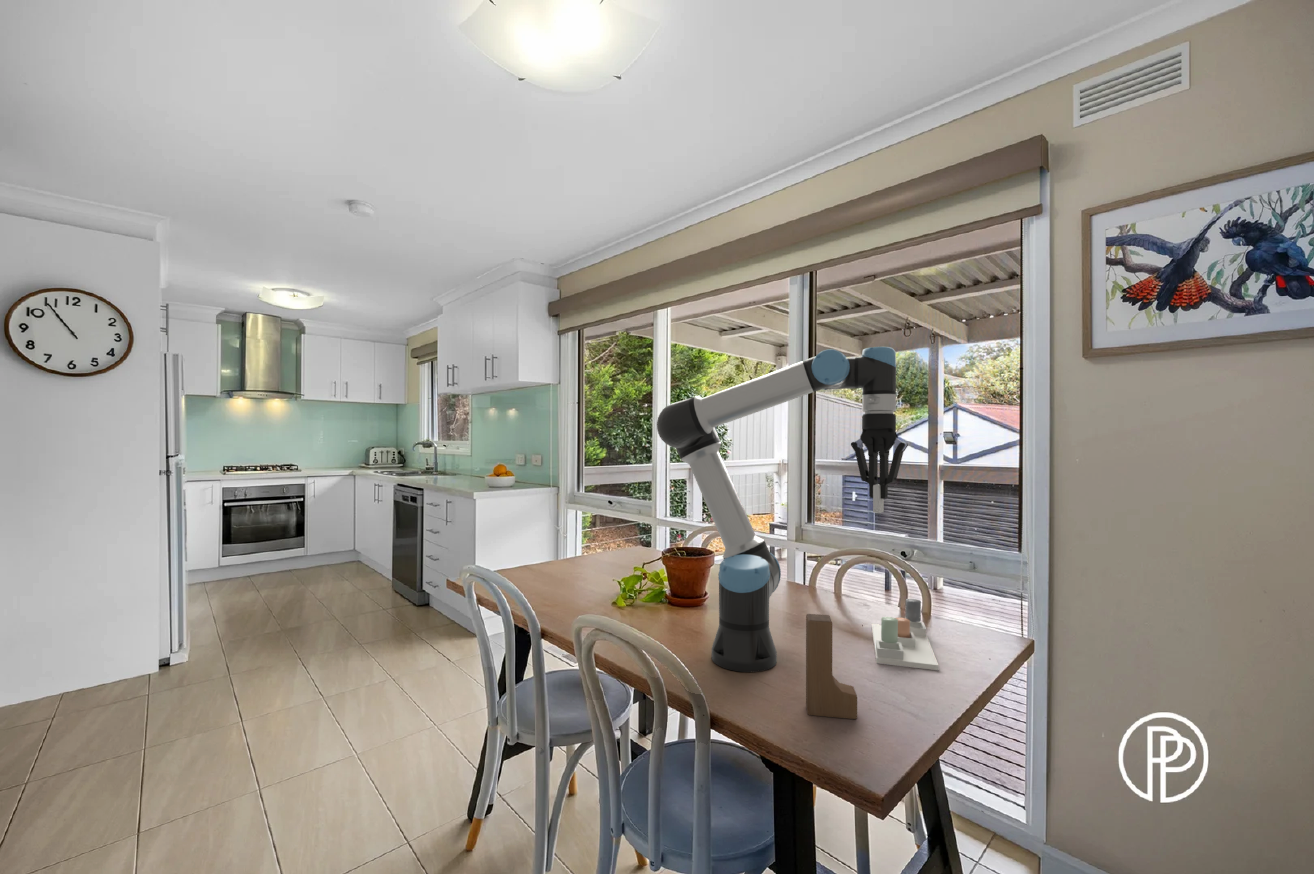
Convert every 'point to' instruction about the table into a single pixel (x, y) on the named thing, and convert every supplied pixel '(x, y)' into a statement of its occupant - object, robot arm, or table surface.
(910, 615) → the charcoal plunger
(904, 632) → the terracotta plunger
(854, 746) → the table surface
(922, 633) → the button board
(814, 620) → the wooden block
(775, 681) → the table surface
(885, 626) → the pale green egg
